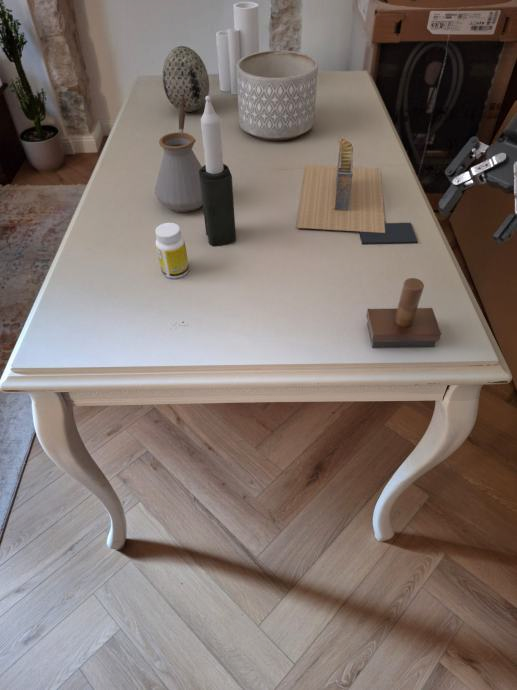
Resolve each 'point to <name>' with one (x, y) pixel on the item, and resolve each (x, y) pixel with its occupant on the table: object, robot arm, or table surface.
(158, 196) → the grey ribbed jar
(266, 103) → the planter
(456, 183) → the robot arm
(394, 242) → the mat
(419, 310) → the brown block with cylinder
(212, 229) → the candle
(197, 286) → the table surface
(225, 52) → the vase
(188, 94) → the decorative egg
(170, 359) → the table surface
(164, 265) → the supplement bottle
